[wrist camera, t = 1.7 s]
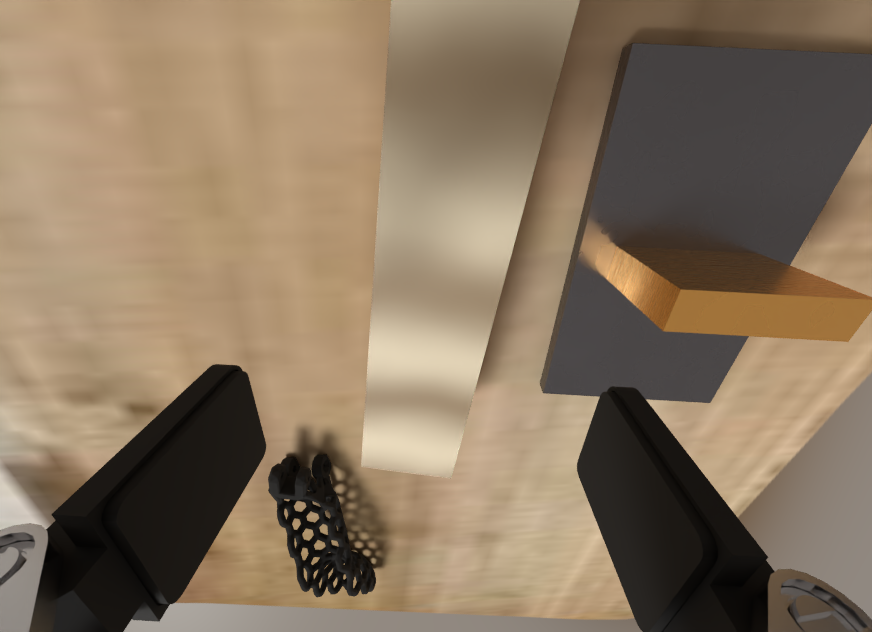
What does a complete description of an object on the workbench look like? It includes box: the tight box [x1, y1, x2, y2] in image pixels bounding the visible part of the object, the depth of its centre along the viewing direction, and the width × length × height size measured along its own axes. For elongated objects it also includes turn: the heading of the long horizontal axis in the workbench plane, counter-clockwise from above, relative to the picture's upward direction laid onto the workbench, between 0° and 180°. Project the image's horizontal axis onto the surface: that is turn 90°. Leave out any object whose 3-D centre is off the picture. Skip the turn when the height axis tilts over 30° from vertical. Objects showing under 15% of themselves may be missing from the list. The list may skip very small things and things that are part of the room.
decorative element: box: [268, 454, 376, 597], centre depth 32 cm, size 22×5×6 cm, turn 10°
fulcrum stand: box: [540, 43, 872, 403], centre depth 17 cm, size 20×12×7 cm, turn 177°
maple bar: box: [361, 0, 580, 479], centre depth 18 cm, size 24×6×7 cm, turn 171°
